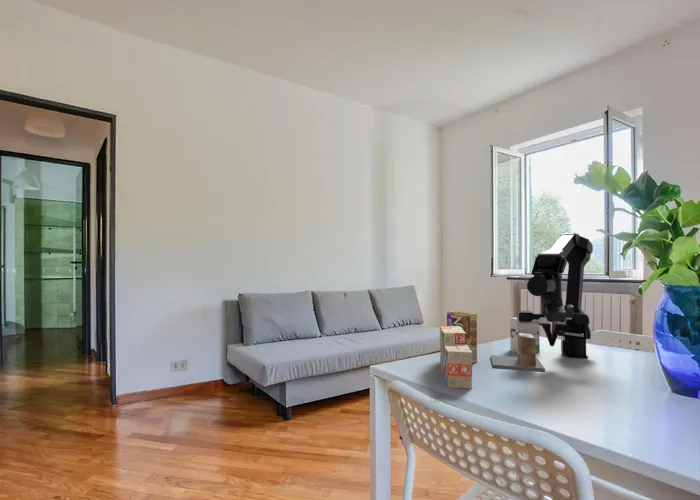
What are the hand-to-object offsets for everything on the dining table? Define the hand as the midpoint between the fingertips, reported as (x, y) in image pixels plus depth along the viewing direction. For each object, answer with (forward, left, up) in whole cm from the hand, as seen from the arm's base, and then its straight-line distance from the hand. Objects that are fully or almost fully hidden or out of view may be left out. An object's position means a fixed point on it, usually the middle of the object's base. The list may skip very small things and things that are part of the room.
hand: (551, 346), depth 115 cm
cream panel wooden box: (+7, 0, -5) cm, 9 cm away
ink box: (+5, -19, -6) cm, 21 cm away
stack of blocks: (+28, +18, -6) cm, 34 cm away
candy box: (+26, 0, -6) cm, 27 cm away
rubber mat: (+10, 0, -6) cm, 12 cm away
